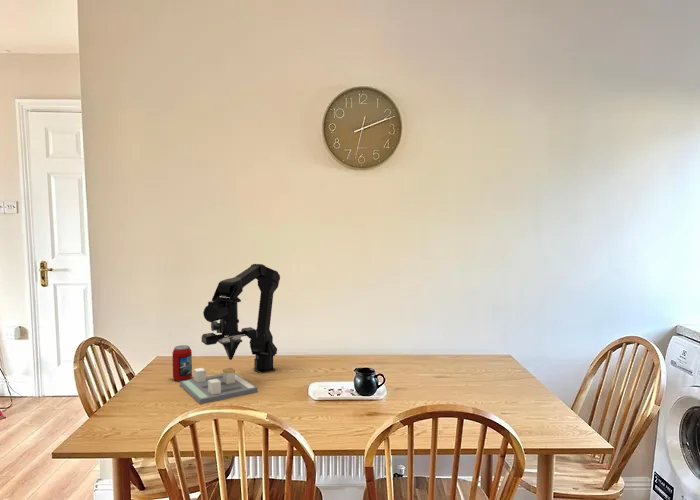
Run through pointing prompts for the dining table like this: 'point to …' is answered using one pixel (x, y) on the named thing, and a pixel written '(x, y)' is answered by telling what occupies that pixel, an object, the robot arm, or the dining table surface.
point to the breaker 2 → (214, 386)
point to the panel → (227, 390)
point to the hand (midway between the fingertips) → (230, 359)
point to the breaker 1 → (199, 375)
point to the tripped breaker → (229, 375)
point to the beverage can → (182, 363)
